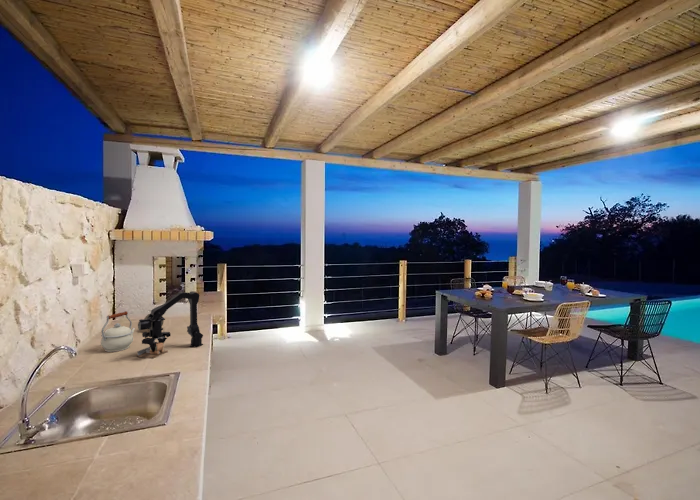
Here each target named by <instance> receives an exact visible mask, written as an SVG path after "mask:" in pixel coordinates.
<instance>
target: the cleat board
mask: <svg viewBox="0 0 700 500" xmlns="http://www.w3.org/2000/svg"><path fill="white" fill-rule="evenodd" d="M166 353H168V350H164V349H163V352H160V351H159V354H150V346H148V347H145V348H143V349H141V350H137V351H136V354H137V356H136V357H138V358H144V359H145V358H146V359H154V358H157V357H159V356H162V355H165V354H166Z"/></svg>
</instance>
